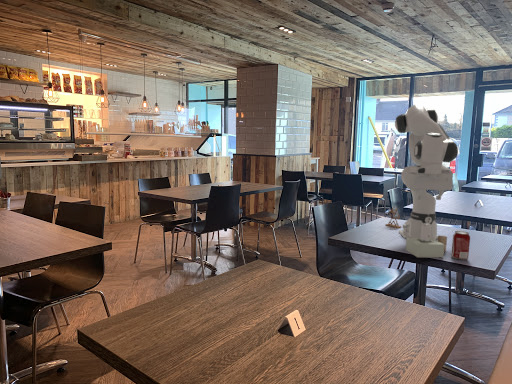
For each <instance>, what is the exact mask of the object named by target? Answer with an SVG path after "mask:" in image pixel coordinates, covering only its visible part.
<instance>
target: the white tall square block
mask: <svg viewBox="0 0 512 384" xmlns="http://www.w3.org/2000/svg"><path fill="white" fill-rule="evenodd" d="M430 233H431V224H428V223H422V227H421V239H420V242H422V243H430Z"/></svg>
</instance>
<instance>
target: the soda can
mask: <svg viewBox="0 0 512 384" xmlns="http://www.w3.org/2000/svg"><path fill="white" fill-rule="evenodd" d="M470 242H471V236H470V232H468V231H465V230H455V232H454V234H453V236H452V243H451V244H452V245H451V254H450V255H451V257H452V258H453V259H455V260H459V261H465V260H467V259H469V253H470V245H471V244H470Z"/></svg>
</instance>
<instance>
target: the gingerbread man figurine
mask: <svg viewBox="0 0 512 384" xmlns="http://www.w3.org/2000/svg"><path fill="white" fill-rule="evenodd" d="M388 214H389V215H390V217H391V218H390V220H389V222H388V223H386V224H385V227H389V228H394V229H398V230H399V229H401V228H402V226H401V225H399V224H398V220H401V216H400V214H399V213H398V208H397V207H395V206H394V207H392V208H391V209H389V210H388Z"/></svg>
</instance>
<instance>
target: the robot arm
mask: <svg viewBox="0 0 512 384" xmlns="http://www.w3.org/2000/svg"><path fill="white" fill-rule="evenodd" d="M438 119H439V115H438V113H437V112H436V110H435V109H433V108H425V106H423V105H421V104H412V105H411V106H410V107H409V108H408V110H407V111H406V113H401V114H399V115H397V116H396V117H395V121H394V126H395V129H396V130H397V132H398V133H400V134H405V133H409V136H408V147H409V153H410V157H411V161H412V162H413V164H414V165H411V166H410V165H409V166H405V167H404V168H403V169H402V171H401V175H400V178H401V181H402V183H403V184H404V185H405V186H406V188H407V189H408V190H410V192H411V195H412V211H411V213H410V215H409V218H408V219H407V220H406V221H405V222H404V223H403V224H402V229H400V230H399V229H398V230H399V231H398V233H399V234H400V235H401V236H402V237H403V239H407V238H420V237H421V227H422V223H428V224H431V233H430V238H432V239H434V240H436V241H437V240H438V236H439V235H438V233H437V232H438V223H437V222H436V218H437V216H436V203H437V200H438V201H441V200H442V196H443V195H444V193H445V191H451V190H452V189H453V186H454V185H453V184H454V183H453V181H454V180H453V178H454V177H453V176H454V173H453V171H452V170H451V169H450V168H449V167H446V165H444V164H443V163H451V162H453V161H454V160H455V159H456V158H457V157H458V154H459V148H458V145H457V144H456V143H455V141H453V139H451V137H449V135H448V133H447V132H446V130H445V129H444V127H443V126H442V125H440V123H438ZM428 191H438V192H439V193H438V194H437V195H435V196H433V195H432V194H431V193H429V192H428Z"/></svg>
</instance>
